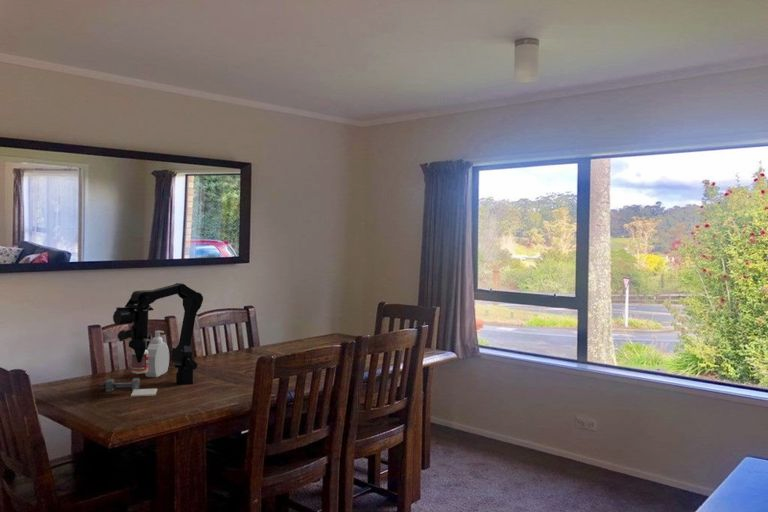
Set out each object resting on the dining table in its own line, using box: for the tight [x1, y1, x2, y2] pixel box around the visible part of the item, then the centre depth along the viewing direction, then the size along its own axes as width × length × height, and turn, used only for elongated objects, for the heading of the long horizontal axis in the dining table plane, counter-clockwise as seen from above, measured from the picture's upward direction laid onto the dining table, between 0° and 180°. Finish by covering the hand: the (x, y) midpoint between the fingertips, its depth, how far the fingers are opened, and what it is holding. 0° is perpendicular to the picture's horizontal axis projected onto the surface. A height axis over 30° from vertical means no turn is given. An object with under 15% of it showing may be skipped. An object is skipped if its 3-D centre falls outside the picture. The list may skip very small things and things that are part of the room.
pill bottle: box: [131, 347, 148, 374], centre depth 241 cm, size 6×6×11 cm
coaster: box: [130, 388, 158, 398], centre depth 241 cm, size 9×9×1 cm
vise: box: [98, 377, 141, 393], centre depth 246 cm, size 15×8×4 cm, turn 106°
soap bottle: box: [144, 330, 170, 378], centre depth 273 cm, size 16×5×20 cm, turn 177°
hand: (140, 360), depth 241 cm, fingers closed on pill bottle, 6 cm apart
